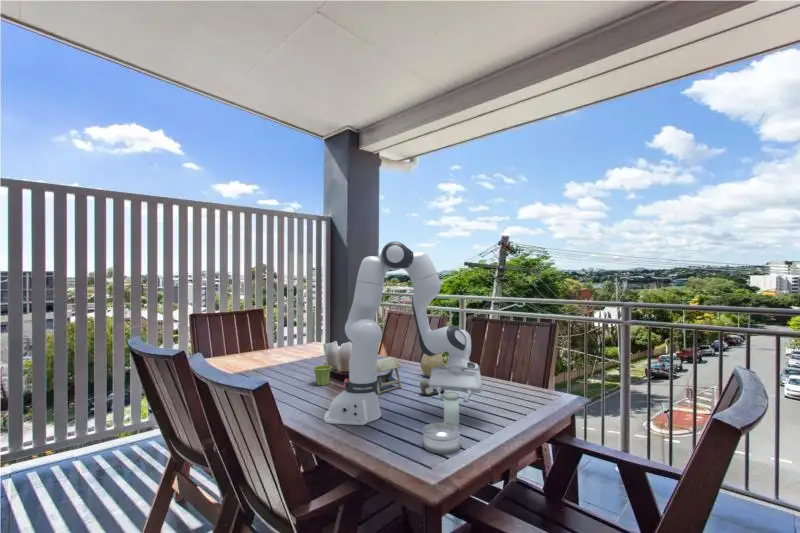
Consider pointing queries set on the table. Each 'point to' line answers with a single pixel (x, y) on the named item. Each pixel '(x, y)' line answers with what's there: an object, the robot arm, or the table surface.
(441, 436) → the round glass dish
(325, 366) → the plant pot
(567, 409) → the table surface
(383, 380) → the swing bench
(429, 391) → the stone
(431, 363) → the fossilized egg
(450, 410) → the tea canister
